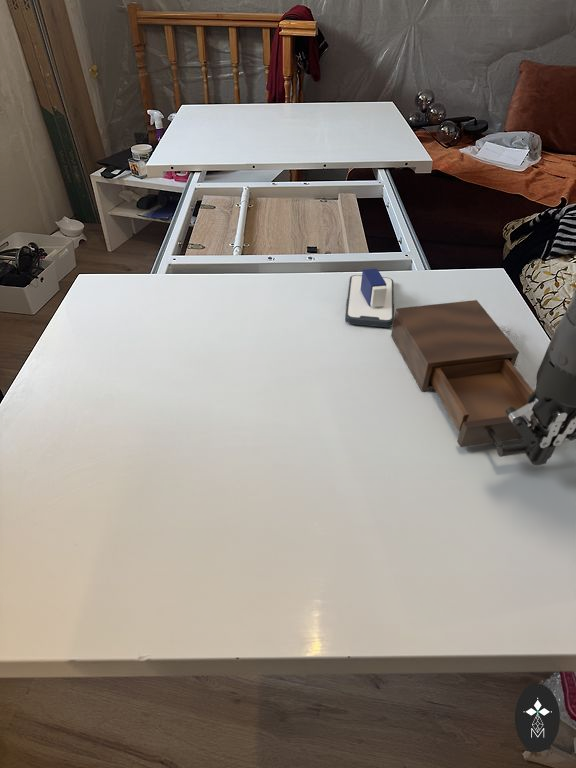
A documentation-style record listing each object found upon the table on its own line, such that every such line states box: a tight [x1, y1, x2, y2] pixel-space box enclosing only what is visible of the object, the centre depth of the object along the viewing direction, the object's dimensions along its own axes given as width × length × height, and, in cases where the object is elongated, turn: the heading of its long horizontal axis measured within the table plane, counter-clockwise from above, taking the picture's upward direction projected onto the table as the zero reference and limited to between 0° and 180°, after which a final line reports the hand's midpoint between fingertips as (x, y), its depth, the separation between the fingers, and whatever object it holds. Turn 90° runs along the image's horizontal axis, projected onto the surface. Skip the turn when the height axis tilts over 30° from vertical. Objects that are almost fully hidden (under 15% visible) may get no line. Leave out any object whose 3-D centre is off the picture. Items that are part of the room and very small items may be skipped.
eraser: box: [360, 267, 387, 307], centre depth 98 cm, size 3×7×4 cm, turn 11°
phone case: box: [344, 274, 395, 328], centre depth 101 cm, size 9×2×16 cm
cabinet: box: [390, 299, 520, 392], centre depth 88 cm, size 15×15×6 cm
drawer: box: [430, 358, 535, 458], centre depth 77 cm, size 18×14×4 cm
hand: (535, 459), depth 68 cm, fingers closed
